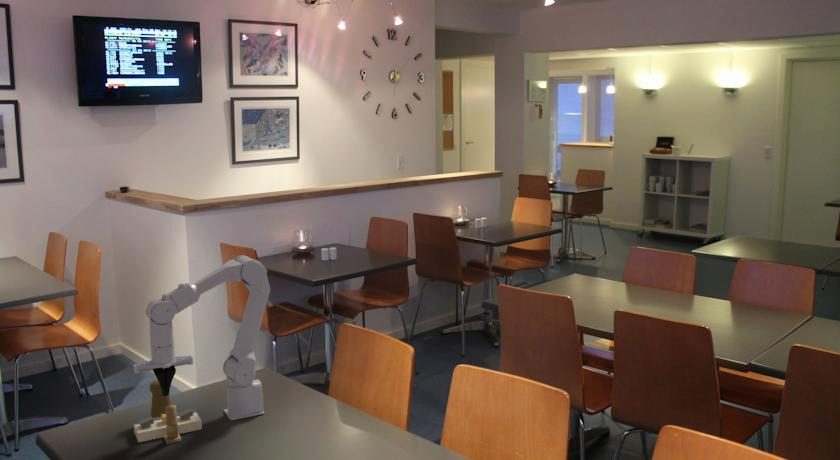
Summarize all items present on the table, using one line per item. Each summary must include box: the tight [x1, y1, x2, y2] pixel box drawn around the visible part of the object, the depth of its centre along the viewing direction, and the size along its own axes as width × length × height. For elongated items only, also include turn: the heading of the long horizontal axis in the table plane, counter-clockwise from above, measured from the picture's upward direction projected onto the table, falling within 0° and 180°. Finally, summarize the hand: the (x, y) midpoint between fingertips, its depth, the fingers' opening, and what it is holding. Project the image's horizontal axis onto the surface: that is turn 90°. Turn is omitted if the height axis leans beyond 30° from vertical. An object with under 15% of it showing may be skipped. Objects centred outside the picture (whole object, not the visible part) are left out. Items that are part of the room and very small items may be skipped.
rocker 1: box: [138, 415, 154, 428], centre depth 191 cm, size 3×2×1 cm
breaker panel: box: [133, 409, 203, 443], centre depth 194 cm, size 16×7×3 cm, turn 119°
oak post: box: [163, 404, 182, 445], centre depth 188 cm, size 4×4×9 cm
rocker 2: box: [161, 414, 166, 422], centre depth 194 cm, size 3×2×1 cm
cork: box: [149, 379, 172, 418], centre depth 201 cm, size 6×6×11 cm
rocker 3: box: [178, 408, 193, 420], centre depth 196 cm, size 3×2×1 cm
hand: (165, 394), depth 193 cm, fingers closed
